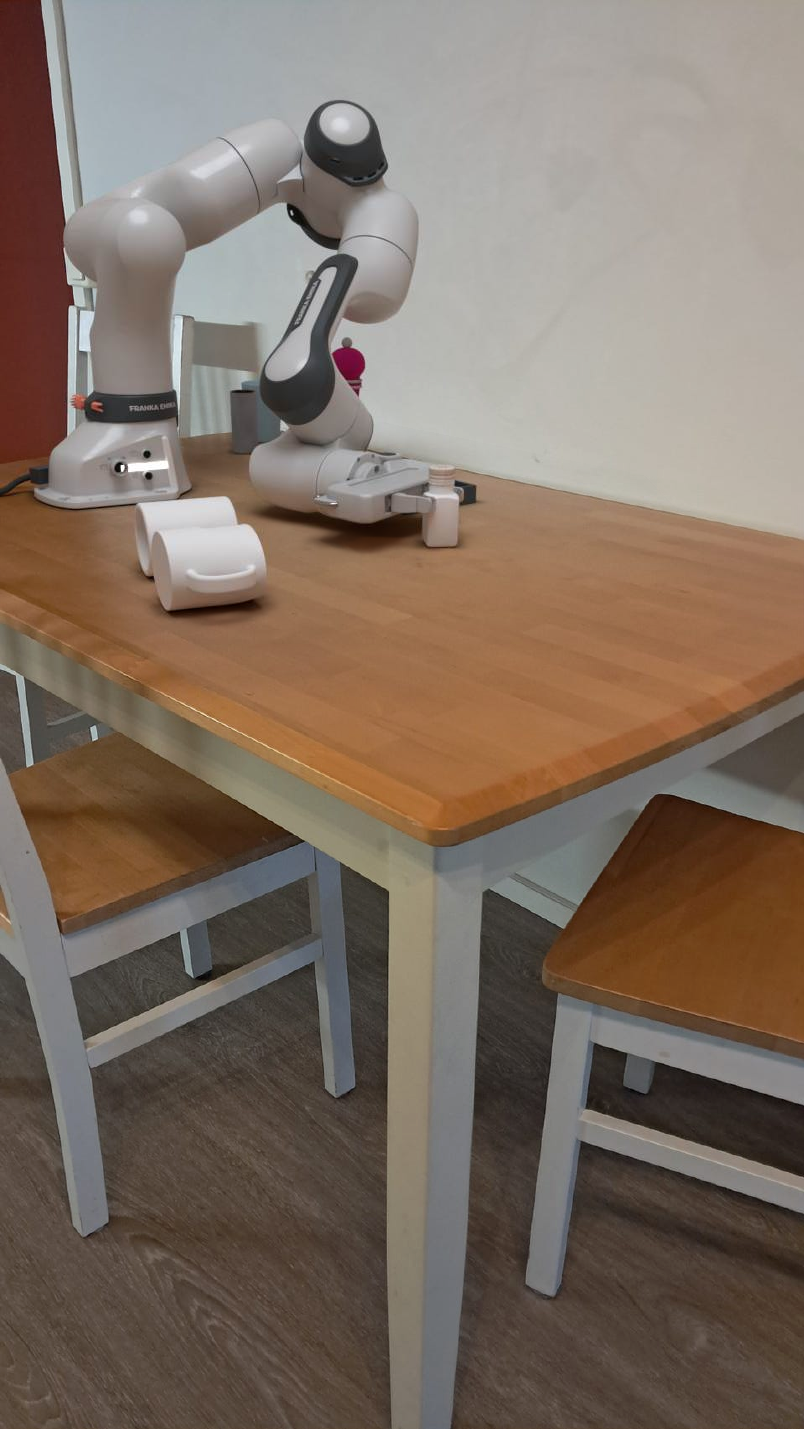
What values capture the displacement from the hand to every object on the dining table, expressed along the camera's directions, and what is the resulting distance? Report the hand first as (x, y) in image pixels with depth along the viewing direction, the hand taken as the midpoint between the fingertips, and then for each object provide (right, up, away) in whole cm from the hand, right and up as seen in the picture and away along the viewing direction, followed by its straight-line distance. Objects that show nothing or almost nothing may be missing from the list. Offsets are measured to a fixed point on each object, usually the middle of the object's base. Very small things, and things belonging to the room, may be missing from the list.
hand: (447, 500), depth 130 cm
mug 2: (-25, -15, -21) cm, 36 cm away
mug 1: (-30, -9, -8) cm, 33 cm away
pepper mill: (-15, +17, +51) cm, 56 cm away
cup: (-31, +25, +70) cm, 80 cm away
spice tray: (-4, +5, +25) cm, 26 cm away
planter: (-33, +20, +59) cm, 70 cm away
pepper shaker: (-1, -5, +3) cm, 6 cm away
